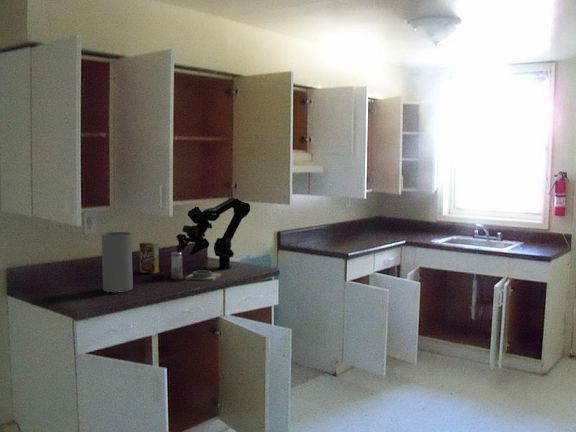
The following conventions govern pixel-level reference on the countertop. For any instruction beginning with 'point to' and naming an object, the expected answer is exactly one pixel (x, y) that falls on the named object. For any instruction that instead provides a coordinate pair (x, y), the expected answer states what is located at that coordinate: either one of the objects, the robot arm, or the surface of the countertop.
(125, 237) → the cylinder vase
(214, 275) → the duct board
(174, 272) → the metal canister
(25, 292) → the countertop surface
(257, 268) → the countertop surface
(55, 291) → the countertop surface
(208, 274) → the collar
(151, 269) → the candy box
